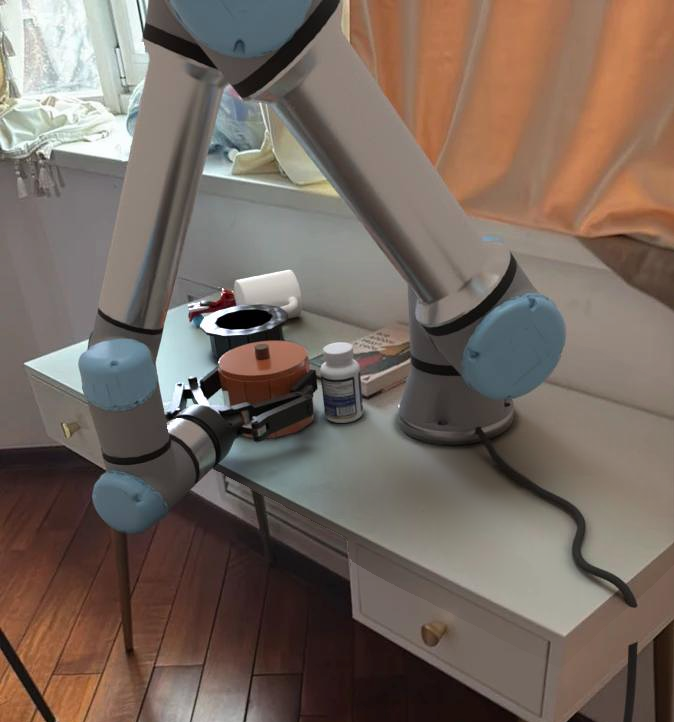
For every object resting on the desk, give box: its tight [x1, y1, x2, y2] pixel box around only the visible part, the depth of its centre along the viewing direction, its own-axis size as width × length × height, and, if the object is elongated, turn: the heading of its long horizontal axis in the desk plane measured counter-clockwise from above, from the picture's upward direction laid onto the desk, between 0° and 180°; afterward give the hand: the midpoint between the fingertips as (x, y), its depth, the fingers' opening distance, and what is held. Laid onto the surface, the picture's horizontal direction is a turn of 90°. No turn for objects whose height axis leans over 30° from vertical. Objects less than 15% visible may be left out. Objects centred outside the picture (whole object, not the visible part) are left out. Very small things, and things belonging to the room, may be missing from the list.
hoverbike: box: [186, 286, 236, 327], centre depth 152 cm, size 5×12×6 cm, turn 103°
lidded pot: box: [218, 340, 316, 439], centre depth 117 cm, size 12×12×10 cm
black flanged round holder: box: [199, 304, 288, 364], centre depth 139 cm, size 14×14×6 cm
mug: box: [233, 269, 303, 320], centre depth 148 cm, size 12×10×8 cm
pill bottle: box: [319, 341, 364, 424], centre depth 116 cm, size 5×5×10 cm
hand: (269, 375), depth 117 cm, fingers open, 13 cm apart
